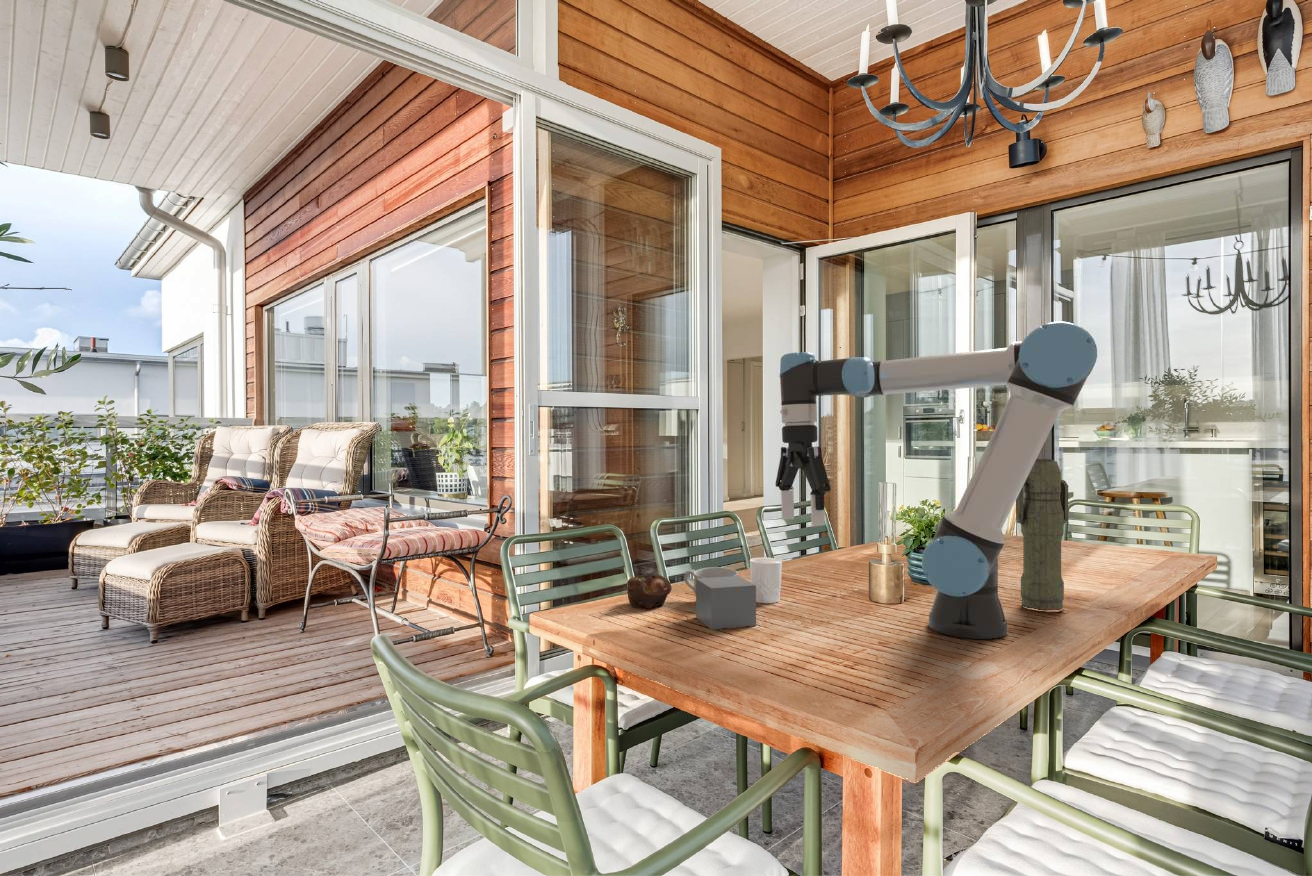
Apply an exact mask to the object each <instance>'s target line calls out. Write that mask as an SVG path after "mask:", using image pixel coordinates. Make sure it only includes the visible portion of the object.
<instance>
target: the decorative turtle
mask: <svg viewBox="0 0 1312 876" xmlns="http://www.w3.org/2000/svg"><path fill="white" fill-rule="evenodd" d="M626 589H627V590H626V591H627V597H628V598H627V599H628V602H629V605H630V606H631V607H637V606H638V605H639V604H640V603H641V604H642V605H643V606H644V608H646V609H647V610H651V609H652V608H653V607H654V606H655V604H656V605H657V606H659V605H660V606H659V607H662V605H663V606H664V604H665V602H666V600H667V598H668V595H670V593H671V592H672V589H673V588H672V584H671V582H670V580H669V579H668V578H666V577H665V576H662V575H660V574H658V573H652V572H651V573H650V572H649V573H643V574H640V575H638V576H637V577H636V576H633V577H630V578H629V579H628V580H627V584H626Z"/></svg>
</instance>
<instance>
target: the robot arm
mask: <svg viewBox="0 0 1312 876" xmlns="http://www.w3.org/2000/svg"><path fill="white" fill-rule="evenodd" d="M1097 358H1098V347H1097V343H1096V341H1095V339H1094V337H1093V336H1092V335H1091V334H1090V332H1089V331H1087V330H1086V329H1084V328H1083V327H1082V326H1080V325H1077V324H1075V323H1072V322H1068V321H1052V322H1048V323H1045V324H1041V325H1040V326H1038V327H1036V328H1034V329H1033V330H1032V331H1031V332H1029V333H1028V335H1027V336H1026V337H1025V338H1024V339H1023V340H1020V341H1019V340H1018V341H1013V342H1011V344H1009V345H1008V347H1003V348H1001V347H1000V348H995V349H983V350H975V351H974V350H973V351H972V350H971V351H964V352H956V353H946V354H937V355H927V356H917V357H908V358H900V359H899V358H898V359H890V360H880V361H872V360H871V359H870V358H868V357H866V356H864V357H856V356H854V357H853V356H852V357H847V358H839V359H827V360H816V356H815V354H814V353H812V352H806V351H802V352H790V353H785V354H783V355H782V356H781V357H780V365H779V366H780V367H779V371H780V372H779V379H780V383H779V384H780V398H781V399H780V400H781V402H780V404H781V410H780V414H781V423H782V424H784V426H782V428H781V437H782V438H781V441H782V442H783V443H784V444H788V446H781V448H780V458H779V463H778V469H777V475H776V480H775V487H777V488H778V489H779V490H780V498H781V499H780V500H781V501H780V502H781V505H780V507H781V520H783V521H786V520H795V504H794V503H795V502H794V501H795V498H794V489H795V488H794V487H793V484H794V482H795V479H796V477H797V474H798V471H799V469H800V470H802V471H803V474H804V475H805V478H806V479H807V480H806V481H807V482H808V484H809V487H810V489H811V491H810V493H809V494H810V515H811V516H810V517H811V526H812V527H821V526H826V516H825V515H826V514H825V510H826V509H825V495H826V493H827V492H830V491H831V490H832V488H831V484H830V481H829V478H828V477H829V476H828V474H827V470H826V467H825V464H824V460H823V456H822V447H821V446H813V443H816V442H818V439H819V438H818V426H817V425H816V424H815V423H817V422H818V414H817V413H818V412H817V411H818V410H817V408H818V407H817V404H818V403H817V397H818V396H819V397H823V396H841V395H842V396H843V395H844V396H850V397H855V398H858V399H859V398H860V399H861V398H863V399H864V398H870V397H874V396H884V395H895V394H907V393H909V394H911V393H920V392H923V393H924V392H931V391H934V392H937V391H945V390H947V391H948V390H958V389H973V388H984V387H997V386H1007V388H1008V391H1009V393H1010V394H1009V395H1010V396H1009V398H1008V401H1007V403H1006V404H1005V407H1004V408H1003V411H1002V413H1001V415H1000V417H999V419H998V421H997V424H996V425H995V428H994V430H993V432H992V434H991V435H990V439H989V440H988V442H987V444H986V446H985V449H984V451H983V453H982V455H981V457H980V459H979V461H978V463H977V465H976V468H975V469H974V472H973V474H972V476H971V477H970V478H971V479H970V481H968V484H967V486H966V488H965V491H964V492H963V494H962V497H961V499H960V501H959V503H958V504H957V507H956V509H955V510H952V511H949V512H947V513H945V514H944V515H943V517H942V519H941V520H939V521H938V522H937V529H936V532H935V534H934V536H933V538H932V540H931V541H930V542H929V543H928V544H927V545H925V546H926V547H925V548H924V550H923V553H922V556H921V557H922V558H921V568H922V572H923V574H924V577H925V578H926V580H927V582H928V583H929V584H930V585H931V586H932V587H933V588H934V589H935V590H936V595H935V597H934V601H933V604H932V607H931V611H930V612H929V614H928V626H929V628H930V629H931V630H933V631H935V632H937V633H940V634H942V635H947V636H950V637H951V636H952V637H957V638H963V639H974V640H991V639H992V638H994V639H998V637H1000V638H1003V637H1005V636H1007V635H1008V621H1007V619H1006V616H1005V614H1004V609H1003V608H1002V604H1001V600H1000V597H999V594H998V593H999V591H998V590H999V589H998V585H999V574H998V573H999V572H998V571H999V570H998V569H999V568H998V567H999V564H998V563H999V562H998V561H999V556H1000V554H1001V551H1002V549H1003V547H1004V545H1005V543H1006V539H1005V537H1004V534H1003V531H1002V529H1003V527H1004V525H1005V523H1006V521H1007V519H1008V518H1009V515H1010V513H1011V511H1012V510H1013V509H1012V508H1014V505H1015V503H1016V499H1017V497H1018V495H1019V493H1020V491H1021V489H1022V487H1023V485H1024V483H1025V481H1026V479H1027V477H1028V475H1029V473H1030V471H1031V469H1032V467H1033V465H1034V463H1035V461H1036V459H1038V456H1039V455H1040V452H1041V451H1042V448H1043V447H1044V444H1045V443H1046V441H1047V439H1048V436H1049V434H1050V432H1051V430H1052V428H1053V426H1054V425H1055V422H1056V420H1057V418H1058V417H1059V414H1060V413H1062V412H1063V411H1067V410H1069V409H1072V408H1073V407H1074V405H1075V403H1076V401H1077V399H1078V397H1079V395H1080V394H1081V391H1082V389H1083V388H1084V387H1083V386H1084V385H1085V383H1086V381H1087V379H1088V377H1089V376H1090V374H1091V373H1092V371H1093V368H1094V367H1095V365H1096V362H1097ZM1004 635H1005V636H1004ZM1002 636H1003V637H1002ZM992 640H993V639H992Z"/></svg>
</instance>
